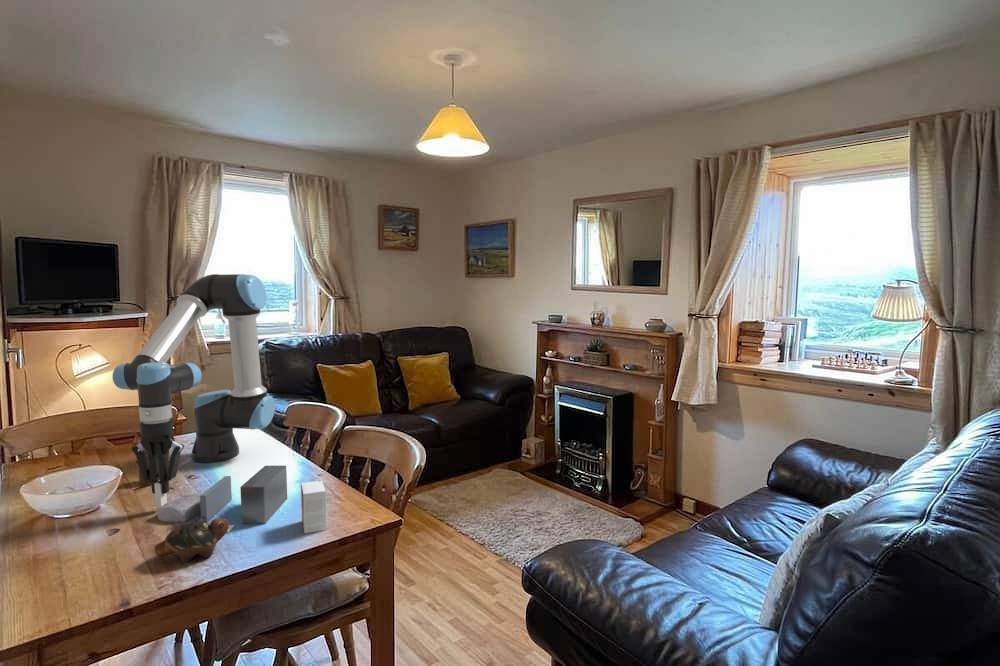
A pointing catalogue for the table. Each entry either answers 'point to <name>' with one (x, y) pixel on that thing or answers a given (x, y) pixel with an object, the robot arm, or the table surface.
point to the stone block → (181, 509)
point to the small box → (313, 506)
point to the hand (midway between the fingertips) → (161, 504)
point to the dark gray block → (263, 494)
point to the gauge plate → (215, 498)
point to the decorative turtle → (193, 539)
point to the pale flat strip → (230, 528)
